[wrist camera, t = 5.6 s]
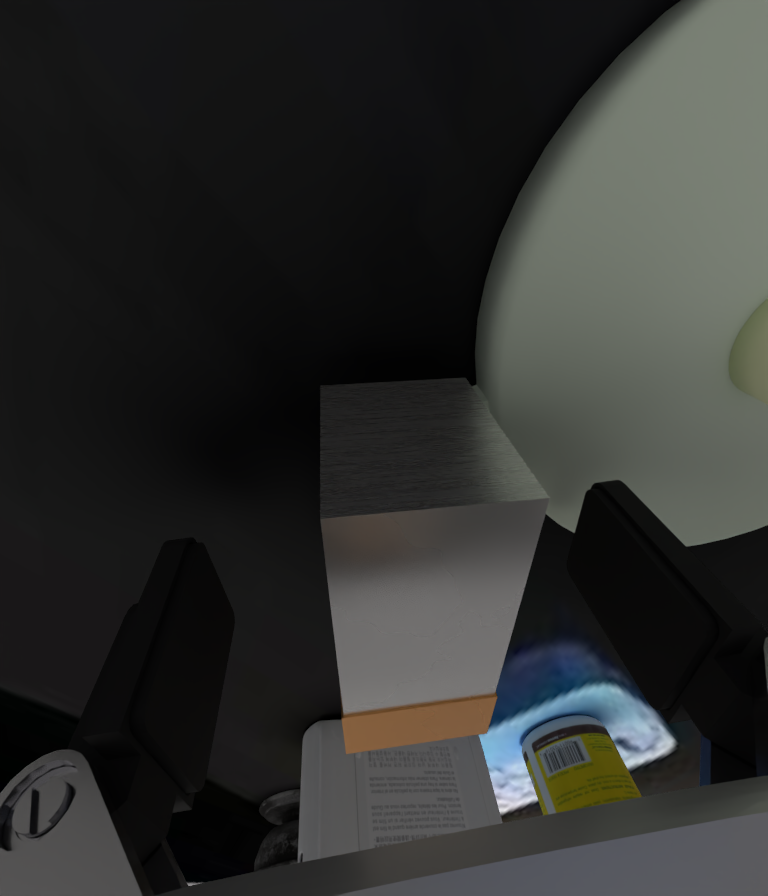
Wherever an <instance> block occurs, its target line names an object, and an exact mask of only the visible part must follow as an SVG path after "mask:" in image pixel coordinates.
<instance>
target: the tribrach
mask: <svg viewBox="0 0 768 896" xmlns="http://www.w3.org/2000/svg"><path fill="white" fill-rule="evenodd" d="M475 366H476V384H477V385H474V386H472V388H473V389H474V391H475V392H476V394H477V395H478V396H479V398H480V399H481V401H482V402H483V404H484V405H485V406H486V408H487V409H488V411H489V412H490V413H491V415H492V416H493V418H494V419H495V421H496V422H497V423H498V425H499V426H500V428H501V429H502V431H503V432H504V433H505V435H506V436H507V438H508V439H509V441H510V442H511V443H512V445H513V446H514V448H515V449H516V451H517V452H518V453H519V455H520V456H521V458H522V459H523V461H524V462H525V463H526V465H527V466H528V468H529V469H530V471H531V472H532V473H533V475H534V476H535V478H536V479H537V481H538V482H539V483H540V485H541V486H542V488H543V489H544V491H545V492H546V493H547V495H548V496H549V498H550V499H549V503H548V507H547V510H546V514H547V515H548V516H549V517H550V518H552V519H553V520H554V521H555V522H557V523H558V524H559V525H561V526H562V527H564V528H566V529H568V530H570V531H572V532H574V533H575V530H576V526H577V523H578V519H579V515H580V511H581V508H582V504H583V500H584V496H585V493H586V491H587V490H590V489H591V487H592V485H593V484H594V483H597V482H605V481H612V480H620V481H622V482H623V483H625V484H626V485H627V486H628V487H629V489H630V490H631V491H632V492H633V493H634V494H635V495H636V496H637V497H638V498H639V499H640V500H641V501H642V502H643V503H644V504H645V505H646V506H647V507H648V508H649V509H650V510H651V511H652V512H653V513H654V514H655V515H656V516H657V517H658V518H659V519H660V520H661V521H662V522H663V523H664V524H665V526H666V527H667V528H668V529H669V530H670V531H671V532H672V533H673V534H674V535H675V536H676V537H677V538H678V539H679V540H680V541H681V542H682V543H683V544H684V545H685V546H693V545H700V544H704V543H709V542H713V541H718V540H722V539H727V538H730V537H733V536H737V535H740V534H743V533H746V532H750V531H753V530H756V529H759V528H761V527H764V526H767V525H768V0H681V1H679V2H678V3H677V4H675V5H674V6H673V7H671V8H670V9H669V10H667V11H666V12H665V13H663V14H662V15H661V16H660V17H659V18H658V19H657V20H656V21H655V22H654V23H653V24H652V25H651V26H649V27H648V28H647V29H646V30H645V31H644V32H643V33H642V34H641V35H640V36H639V37H638V38H637V39H635V40H634V41H633V42H632V43H631V44H630V45H629V46H628V47H627V48H626V49H625V50H624V51H623V52H621V53H620V54H619V55H618V56H617V58H616V59H615V60H614V61H613V62H612V63H611V64H610V66H609V67H608V68H607V69H606V70H605V71H604V72H603V74H602V75H601V76H600V77H599V78H598V79H597V80H596V82H595V83H594V84H593V85H592V86H591V87H590V88H589V90H588V91H587V92H586V93H585V94H584V95H583V96H582V98H581V99H580V100H579V101H578V103H577V104H576V105H575V107H574V108H573V110H572V111H571V112H570V114H569V115H568V117H567V118H566V119H565V121H564V122H563V124H562V125H561V126H560V128H559V129H558V131H557V132H556V133H555V135H554V136H553V138H552V139H551V140H550V142H549V143H548V145H547V146H546V147H545V149H544V151H543V153H542V154H541V156H540V158H539V160H538V161H537V163H536V165H535V167H534V168H533V170H532V172H531V173H530V175H529V177H528V179H527V180H526V182H525V184H524V186H523V187H522V189H521V191H520V193H519V195H518V197H517V199H516V201H515V204H514V206H513V208H512V210H511V213H510V215H509V217H508V219H507V221H506V224H505V226H504V228H503V230H502V233H501V235H500V237H499V240H498V243H497V246H496V249H495V252H494V255H493V258H492V261H491V264H490V267H489V271H488V274H487V277H486V280H485V285H484V290H483V294H482V299H481V304H480V309H479V314H478V320H477V332H476V345H475Z"/></svg>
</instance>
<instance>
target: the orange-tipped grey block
mask: <svg viewBox="0 0 768 896" xmlns="http://www.w3.org/2000/svg"><path fill="white" fill-rule="evenodd" d="M549 499H550V498H549V496H548V495H547V493H546V492H545V491H544V489H543V488H542V486H541V485H540V483H539V482H538V481H537V479H536V478H535V476H534V475H533V473H532V472H531V471H530V469H529V468H528V466H527V465H526V463H525V462H524V461H523V459H522V458H521V456H520V455H519V453H518V452H517V451H516V449H515V448H514V446H513V445H512V443H511V442H510V441H509V439H508V438H507V436H506V435H505V433H504V432H503V431H502V429H501V428H500V426H499V425H498V423H497V422H496V421H495V419H494V418H493V416H492V415H491V413H490V412H489V411H488V409H487V408H486V406H485V405H484V404H483V402H482V401H481V399H480V398H479V396H478V395H477V394H476V392H475V391H474V389H473V388H472V386H471V385H470V384H469V382H468V381H467V379H466V378H447V379H430V380H412V381H395V382H377V383H360V384H343V385H325V386H320V520H321V529H322V537H323V546H324V554H325V562H326V571H327V579H328V588H329V596H330V604H331V613H332V621H333V630H334V638H335V646H336V655H337V663H338V672H339V680H340V692H341V718H342V726H343V734H344V742H345V750H346V754H350V753H357V752H364V751H371V750H377V749H384V748H391V747H398V746H404V745H411V744H418V743H425V742H431V741H438V740H445V739H451V738H458V737H465V736H472V735H478V734H485V733H487V731H488V727H489V724H490V721H491V717H492V714H493V710H494V707H495V703H496V700H497V694H496V688H497V684H498V681H499V677H500V673H501V670H502V666H503V663H504V659H505V656H506V652H507V649H508V645H509V641H510V638H511V634H512V631H513V627H514V624H515V620H516V617H517V613H518V610H519V606H520V602H521V599H522V595H523V592H524V588H525V585H526V581H527V578H528V574H529V570H530V567H531V563H532V560H533V556H534V553H535V549H536V546H537V542H538V539H539V535H540V531H541V528H542V524H543V521H544V517H545V514H546V510H547V507H548V503H549Z"/></svg>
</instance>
